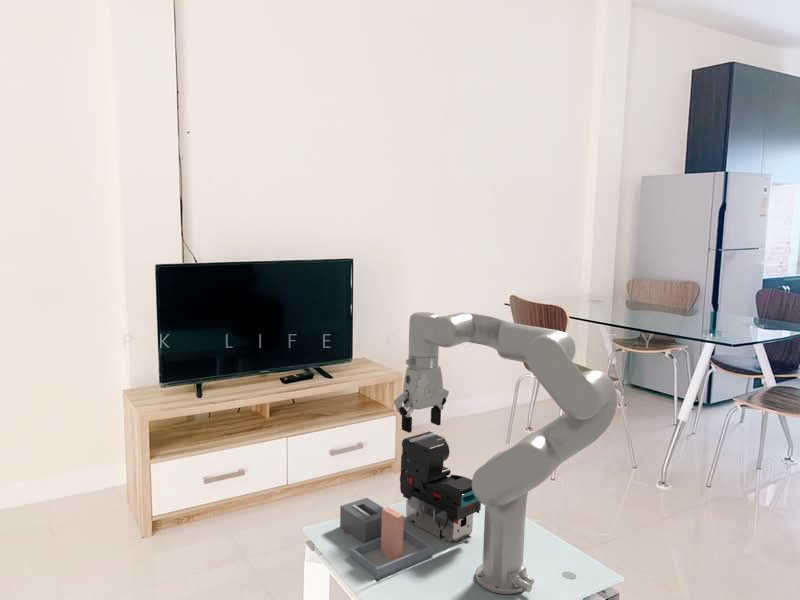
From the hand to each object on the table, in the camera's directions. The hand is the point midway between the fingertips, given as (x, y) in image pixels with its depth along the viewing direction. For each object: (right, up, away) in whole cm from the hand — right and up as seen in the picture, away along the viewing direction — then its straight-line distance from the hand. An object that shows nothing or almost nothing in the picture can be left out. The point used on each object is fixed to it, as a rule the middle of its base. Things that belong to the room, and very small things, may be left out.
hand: (421, 427), depth 153 cm
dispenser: (-15, -32, +12) cm, 37 cm away
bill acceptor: (+5, -32, +15) cm, 36 cm away
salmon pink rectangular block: (-8, -33, -1) cm, 34 cm away
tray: (-8, -33, 0) cm, 34 cm away
